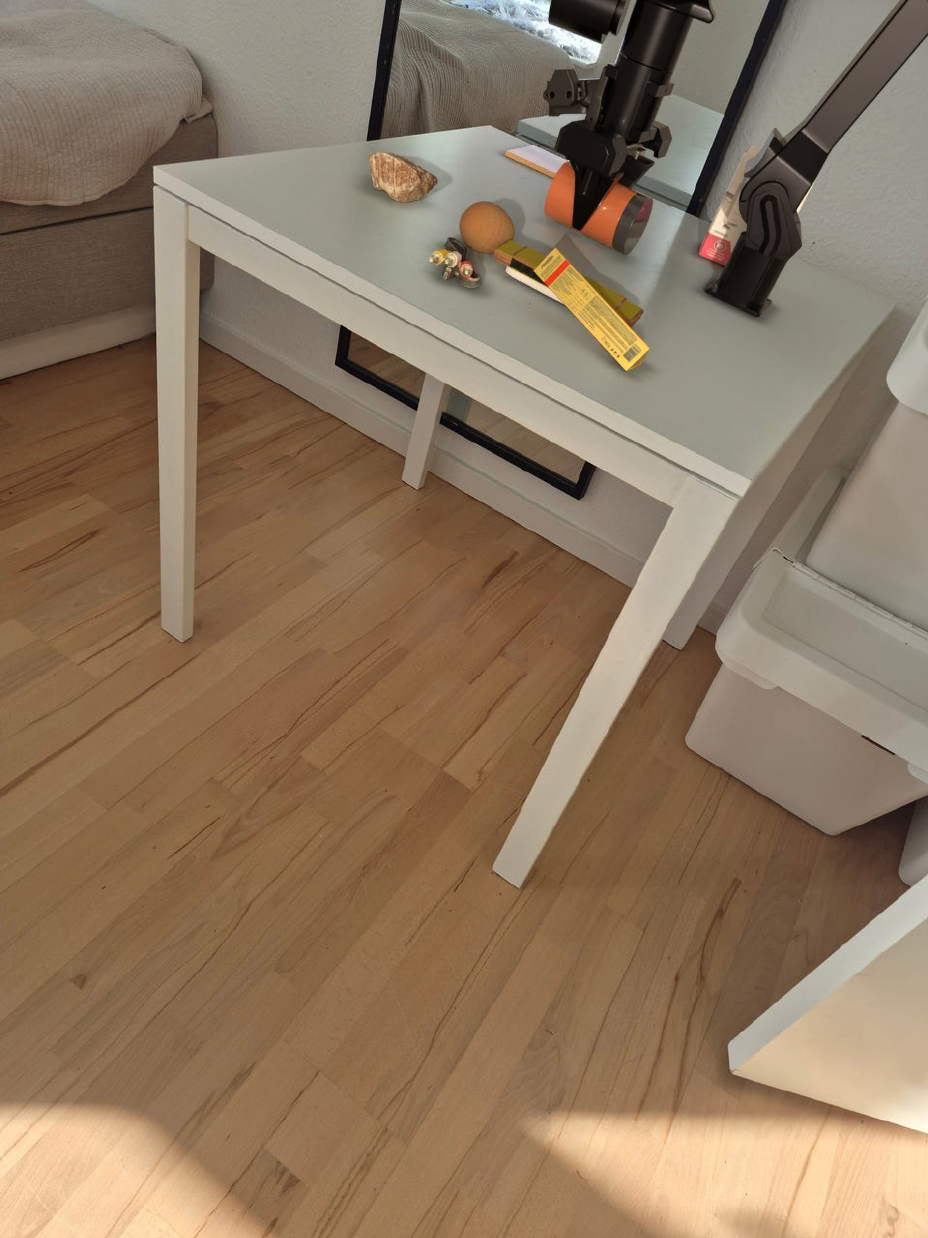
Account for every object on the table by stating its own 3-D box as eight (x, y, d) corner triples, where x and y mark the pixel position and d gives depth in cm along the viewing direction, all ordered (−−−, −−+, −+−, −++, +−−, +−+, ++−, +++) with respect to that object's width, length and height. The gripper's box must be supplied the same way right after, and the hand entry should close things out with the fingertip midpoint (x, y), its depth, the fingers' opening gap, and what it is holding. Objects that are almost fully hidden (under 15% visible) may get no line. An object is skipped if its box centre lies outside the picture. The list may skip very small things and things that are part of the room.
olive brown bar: (511, 235, 78) (505, 256, 80) (495, 245, 76) (489, 266, 78) (646, 306, 75) (637, 325, 77) (633, 318, 73) (624, 337, 75)
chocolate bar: (650, 348, 69) (652, 353, 71) (555, 247, 70) (560, 255, 72) (626, 371, 69) (629, 376, 72) (533, 270, 71) (538, 278, 73)
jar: (538, 221, 91) (556, 163, 87) (560, 213, 95) (578, 157, 91) (617, 260, 88) (640, 202, 84) (636, 249, 93) (659, 194, 89)
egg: (460, 187, 77) (507, 205, 81) (443, 236, 80) (490, 250, 83) (485, 203, 75) (533, 220, 79) (467, 252, 77) (514, 267, 81)
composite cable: (443, 243, 79) (452, 217, 77) (490, 263, 79) (499, 238, 78) (422, 277, 71) (430, 249, 70) (473, 299, 72) (483, 272, 70)
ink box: (695, 254, 99) (744, 148, 91) (701, 245, 103) (748, 142, 95) (763, 282, 98) (817, 178, 91) (766, 272, 102) (819, 170, 94)
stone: (427, 221, 87) (442, 173, 86) (422, 201, 81) (438, 149, 81) (363, 199, 87) (377, 151, 86) (353, 177, 81) (369, 126, 81)
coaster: (559, 181, 106) (561, 176, 106) (504, 155, 108) (505, 150, 108) (584, 173, 112) (585, 168, 112) (531, 149, 114) (533, 144, 114)
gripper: (608, 32, 89) (558, 184, 99) (535, 30, 76) (486, 206, 86) (700, 71, 87) (639, 222, 97) (642, 76, 73) (579, 251, 84)
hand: (587, 224), depth 91 cm, fingers closed on jar, 6 cm apart
